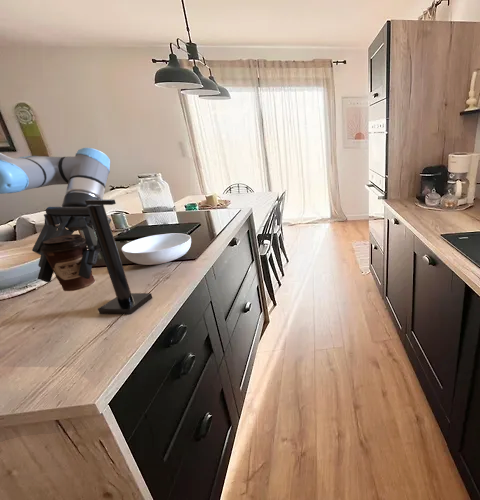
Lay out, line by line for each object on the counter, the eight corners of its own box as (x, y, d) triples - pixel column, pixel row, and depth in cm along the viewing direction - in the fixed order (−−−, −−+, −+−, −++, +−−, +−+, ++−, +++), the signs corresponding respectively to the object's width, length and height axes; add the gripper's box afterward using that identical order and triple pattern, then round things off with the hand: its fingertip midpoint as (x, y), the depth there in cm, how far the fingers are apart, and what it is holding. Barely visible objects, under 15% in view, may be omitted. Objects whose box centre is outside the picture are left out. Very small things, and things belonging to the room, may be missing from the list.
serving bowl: (153, 249, 114) (149, 232, 112) (205, 249, 113) (201, 233, 111) (110, 271, 95) (104, 251, 92) (172, 272, 94) (167, 252, 91)
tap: (66, 313, 71) (21, 203, 61) (94, 297, 79) (57, 196, 69) (132, 314, 71) (97, 203, 61) (154, 298, 78) (126, 196, 68)
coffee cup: (107, 283, 75) (91, 236, 70) (65, 297, 68) (45, 246, 63) (92, 276, 79) (77, 231, 74) (52, 288, 72) (32, 239, 68)
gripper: (133, 204, 83) (121, 279, 74) (50, 208, 79) (26, 287, 70) (118, 189, 76) (103, 268, 67) (27, 192, 72) (-3, 277, 63)
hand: (64, 278), depth 69 cm, fingers closed on coffee cup, 7 cm apart
